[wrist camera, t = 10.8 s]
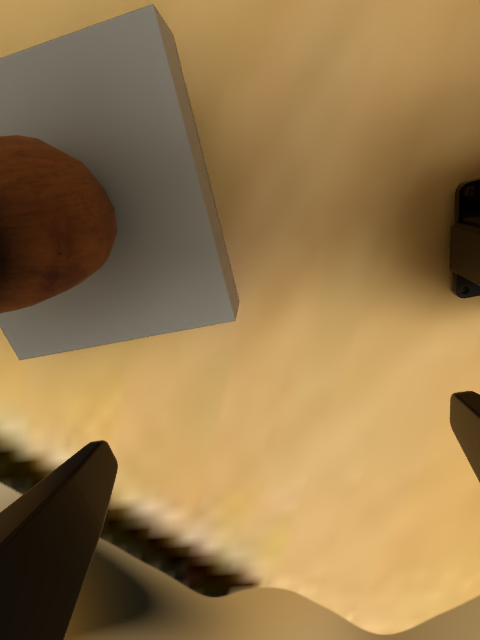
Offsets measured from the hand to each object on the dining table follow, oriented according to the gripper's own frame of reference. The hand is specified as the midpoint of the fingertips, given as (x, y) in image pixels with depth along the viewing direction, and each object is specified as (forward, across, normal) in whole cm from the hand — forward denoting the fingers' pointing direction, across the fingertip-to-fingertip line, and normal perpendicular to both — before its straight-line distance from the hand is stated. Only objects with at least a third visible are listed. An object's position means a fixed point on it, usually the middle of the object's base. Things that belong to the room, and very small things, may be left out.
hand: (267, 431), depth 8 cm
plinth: (+13, +9, -6) cm, 17 cm away
